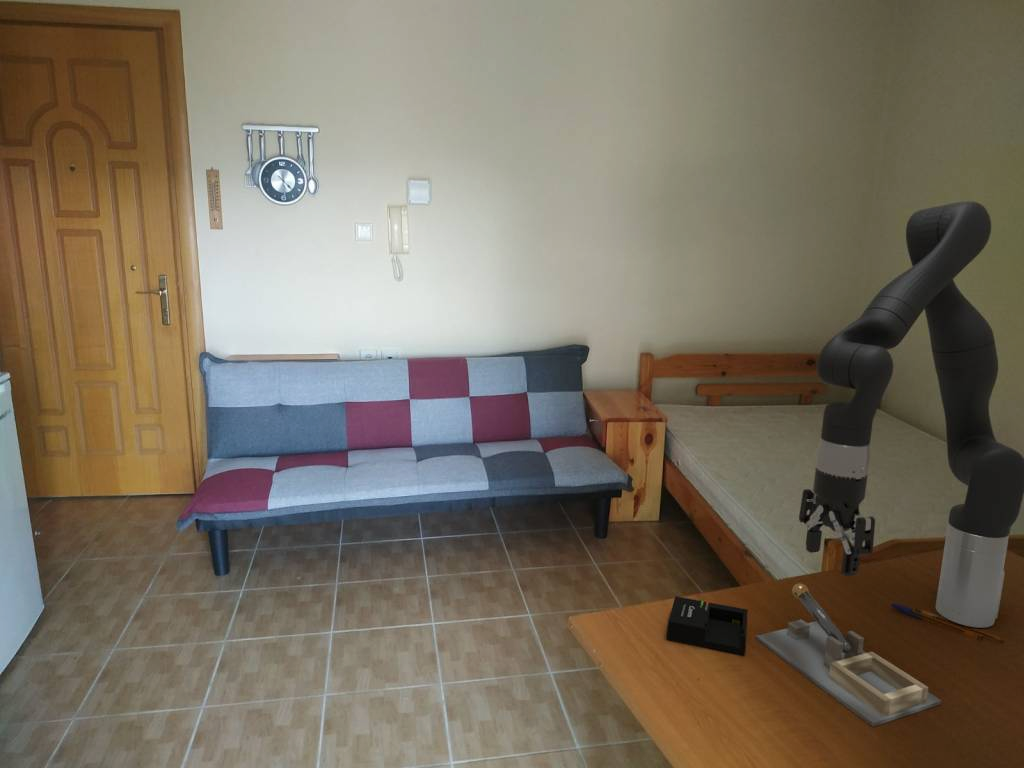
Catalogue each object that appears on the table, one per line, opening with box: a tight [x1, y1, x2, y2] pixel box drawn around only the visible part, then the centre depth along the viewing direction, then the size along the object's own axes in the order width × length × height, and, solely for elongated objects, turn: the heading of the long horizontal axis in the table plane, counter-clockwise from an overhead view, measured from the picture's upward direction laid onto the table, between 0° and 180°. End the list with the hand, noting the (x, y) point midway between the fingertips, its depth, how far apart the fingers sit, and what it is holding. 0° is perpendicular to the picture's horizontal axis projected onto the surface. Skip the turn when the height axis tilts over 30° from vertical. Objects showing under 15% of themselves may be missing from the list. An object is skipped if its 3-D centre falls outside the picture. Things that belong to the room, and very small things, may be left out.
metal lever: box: [791, 583, 851, 653], centre depth 116 cm, size 3×13×3 cm, turn 22°
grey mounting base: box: [755, 619, 942, 728], centre depth 112 cm, size 14×24×6 cm, turn 22°
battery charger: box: [666, 595, 748, 657], centre depth 122 cm, size 13×10×4 cm
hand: (830, 562), depth 113 cm, fingers open, 8 cm apart
